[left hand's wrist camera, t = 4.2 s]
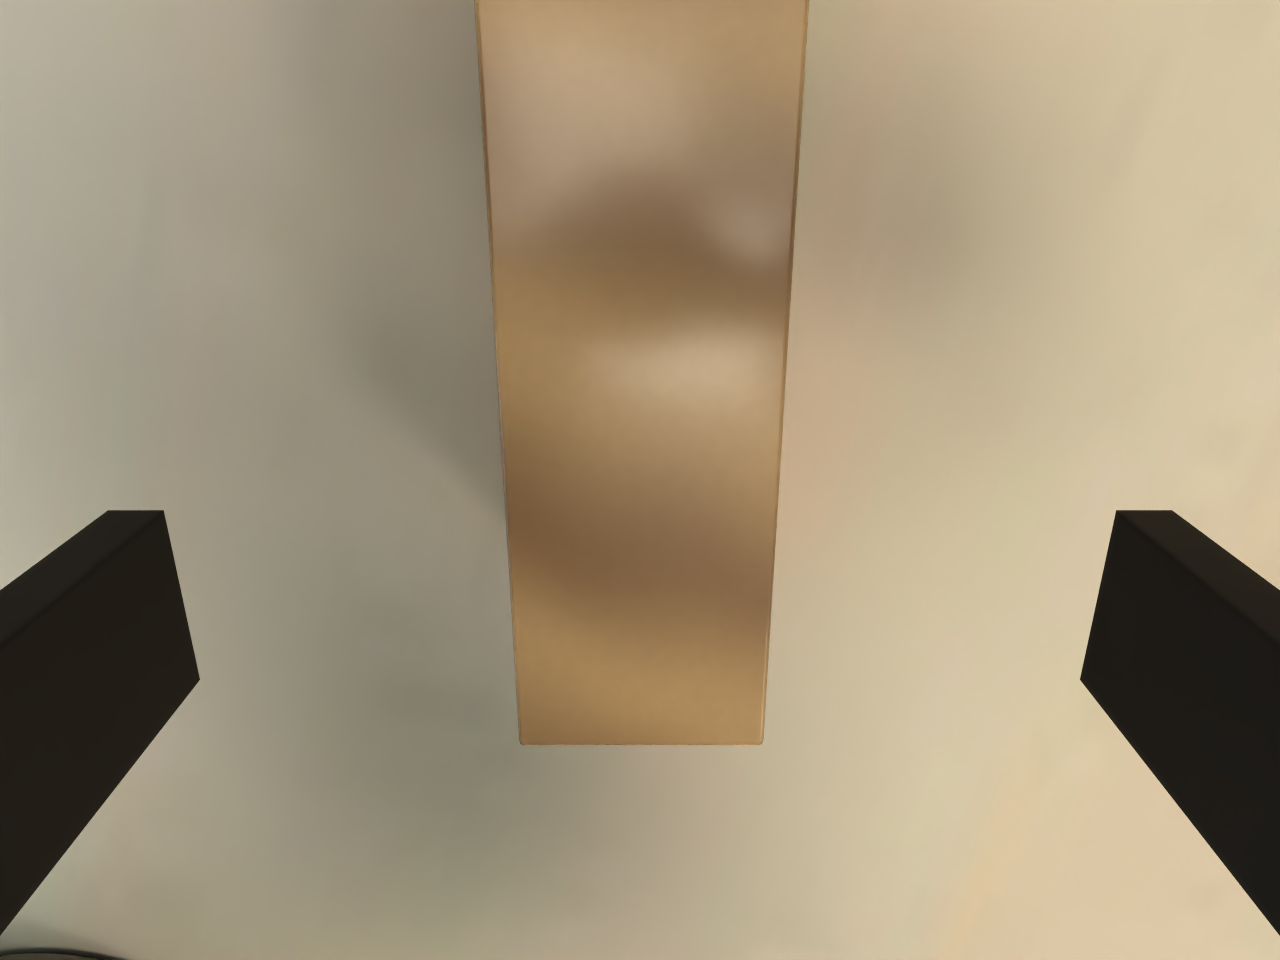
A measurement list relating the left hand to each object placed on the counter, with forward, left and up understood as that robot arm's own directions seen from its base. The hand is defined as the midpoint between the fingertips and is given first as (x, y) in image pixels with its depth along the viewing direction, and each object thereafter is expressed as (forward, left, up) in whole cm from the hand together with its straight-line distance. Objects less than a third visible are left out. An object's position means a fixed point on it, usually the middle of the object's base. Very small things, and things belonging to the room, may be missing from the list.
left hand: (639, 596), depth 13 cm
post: (+30, -14, -14) cm, 36 cm away
